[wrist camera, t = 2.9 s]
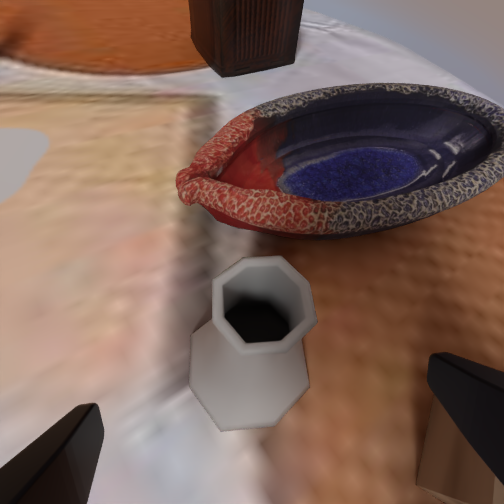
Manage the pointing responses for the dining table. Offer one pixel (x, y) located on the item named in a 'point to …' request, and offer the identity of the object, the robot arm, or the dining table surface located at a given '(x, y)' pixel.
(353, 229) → the dish
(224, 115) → the dining table surface
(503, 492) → the walnut block
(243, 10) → the brown potted plant
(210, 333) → the flask
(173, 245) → the dining table surface
